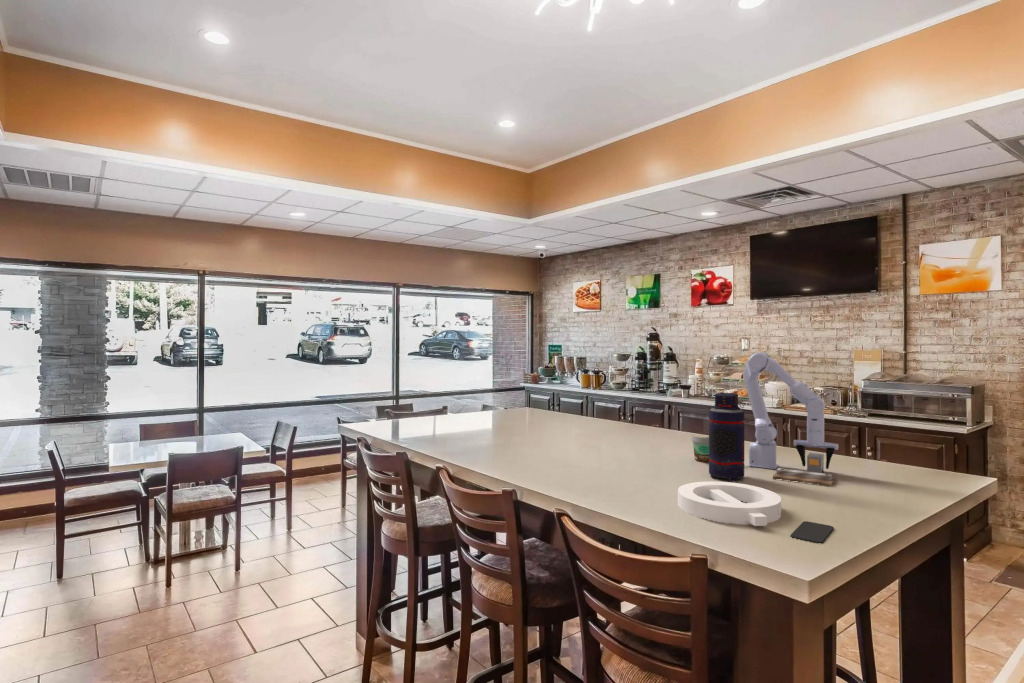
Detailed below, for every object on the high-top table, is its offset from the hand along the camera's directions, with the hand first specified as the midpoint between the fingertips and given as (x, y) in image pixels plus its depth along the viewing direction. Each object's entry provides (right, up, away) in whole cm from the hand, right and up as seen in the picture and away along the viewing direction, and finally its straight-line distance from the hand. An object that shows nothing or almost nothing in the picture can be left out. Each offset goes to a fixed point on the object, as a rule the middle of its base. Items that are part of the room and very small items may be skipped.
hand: (815, 467), depth 210 cm
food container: (-34, -2, +18) cm, 38 cm away
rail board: (-10, -2, -10) cm, 14 cm away
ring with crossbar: (-50, -3, -45) cm, 67 cm away
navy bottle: (-35, -2, -7) cm, 36 cm away
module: (0, -2, 0) cm, 2 cm away
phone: (-36, -3, -65) cm, 74 cm away
